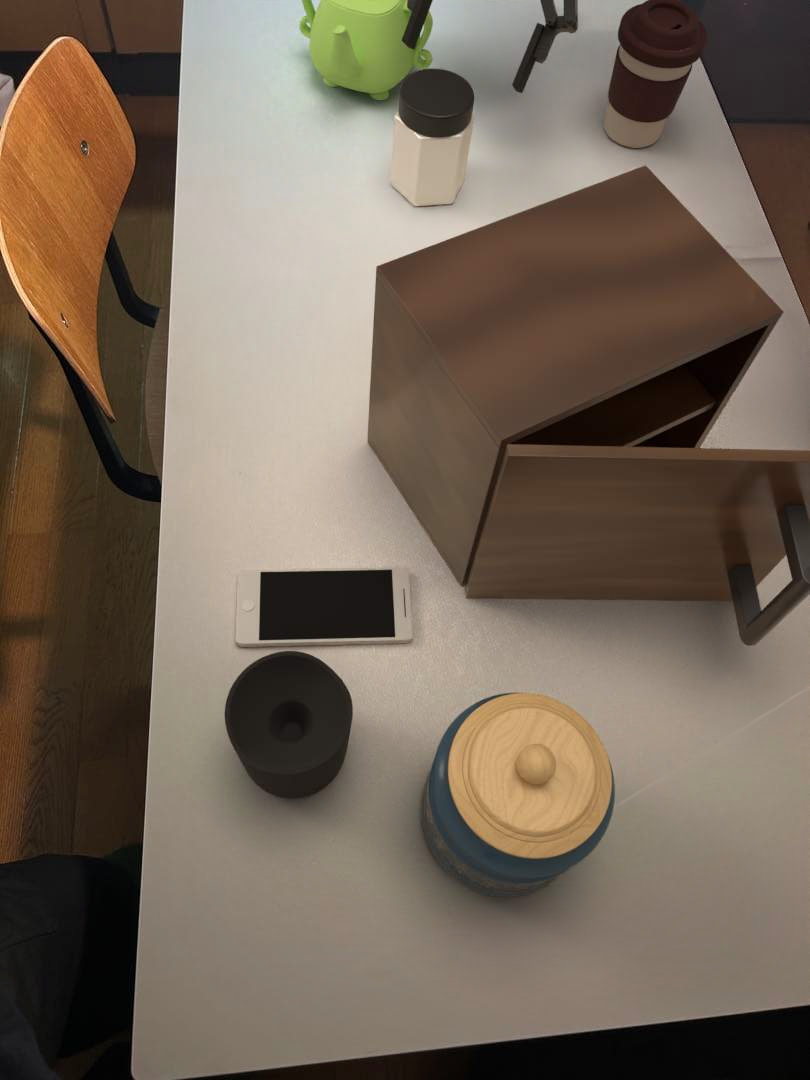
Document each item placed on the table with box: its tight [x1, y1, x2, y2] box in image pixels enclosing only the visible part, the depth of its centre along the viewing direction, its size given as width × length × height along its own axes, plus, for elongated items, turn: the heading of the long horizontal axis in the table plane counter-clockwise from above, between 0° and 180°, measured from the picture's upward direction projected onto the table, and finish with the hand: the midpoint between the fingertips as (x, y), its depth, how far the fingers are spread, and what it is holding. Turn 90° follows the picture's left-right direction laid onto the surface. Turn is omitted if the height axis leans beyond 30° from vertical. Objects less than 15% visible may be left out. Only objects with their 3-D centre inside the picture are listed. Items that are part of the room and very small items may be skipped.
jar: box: [389, 68, 476, 207], centre depth 105 cm, size 9×8×12 cm
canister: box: [420, 692, 616, 898], centre depth 68 cm, size 13×13×18 cm
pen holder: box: [224, 650, 354, 799], centre depth 73 cm, size 9×9×10 cm
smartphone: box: [235, 566, 414, 648], centre depth 83 cm, size 7×15×1 cm, turn 93°
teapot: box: [298, 0, 434, 101], centre depth 113 cm, size 16×14×13 cm
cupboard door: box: [464, 444, 810, 647], centre depth 74 cm, size 8×26×24 cm, turn 91°
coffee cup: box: [603, 0, 708, 149], centre depth 110 cm, size 10×10×15 cm
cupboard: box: [367, 164, 784, 588], centre depth 82 cm, size 18×26×24 cm
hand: (461, 67), depth 103 cm, fingers open, 13 cm apart
